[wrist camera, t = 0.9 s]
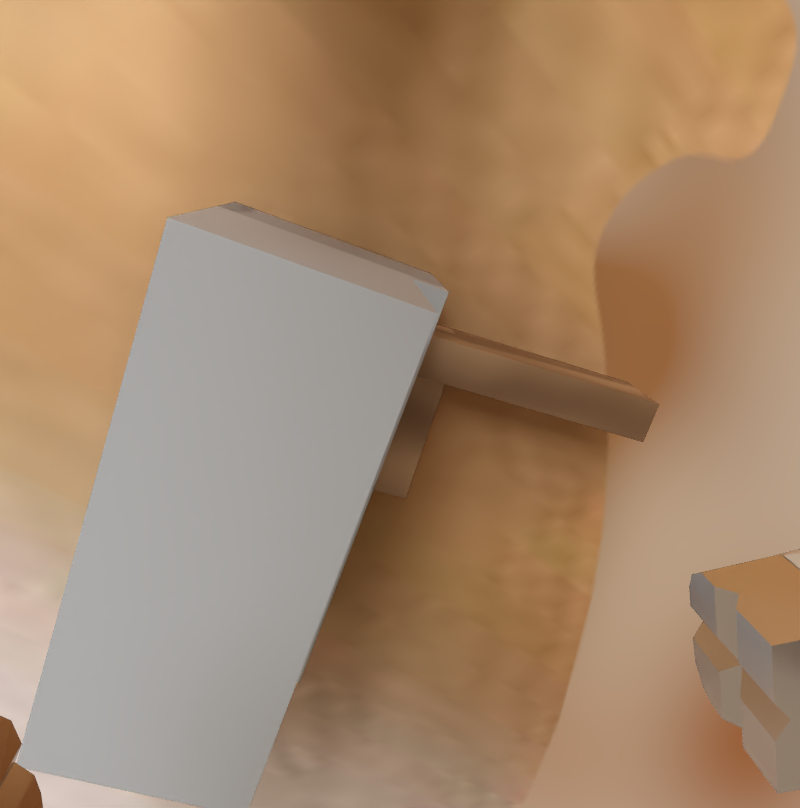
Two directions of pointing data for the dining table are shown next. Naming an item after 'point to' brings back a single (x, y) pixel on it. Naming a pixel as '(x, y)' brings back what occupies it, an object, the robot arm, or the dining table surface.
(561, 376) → the wooden l-shaped bracket
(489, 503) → the dining table surface
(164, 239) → the cabinet
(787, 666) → the robot arm
